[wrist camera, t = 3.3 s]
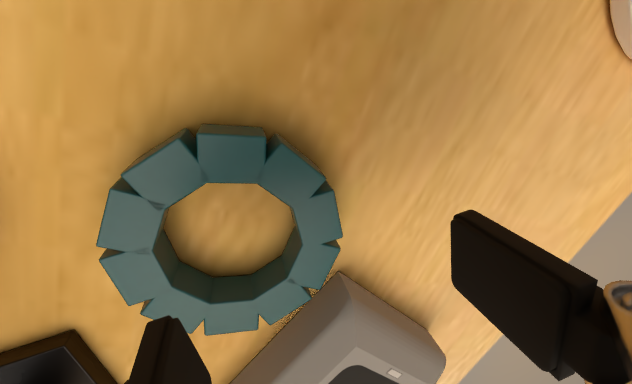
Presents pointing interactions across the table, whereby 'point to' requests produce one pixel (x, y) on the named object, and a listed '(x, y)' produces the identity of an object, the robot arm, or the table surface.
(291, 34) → the table surface
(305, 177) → the ring
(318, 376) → the grey flat block
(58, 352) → the black post
